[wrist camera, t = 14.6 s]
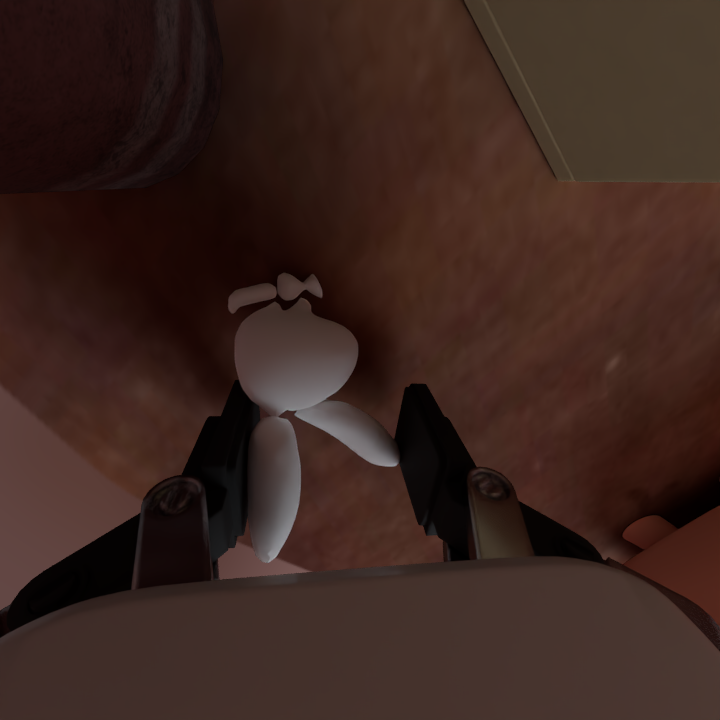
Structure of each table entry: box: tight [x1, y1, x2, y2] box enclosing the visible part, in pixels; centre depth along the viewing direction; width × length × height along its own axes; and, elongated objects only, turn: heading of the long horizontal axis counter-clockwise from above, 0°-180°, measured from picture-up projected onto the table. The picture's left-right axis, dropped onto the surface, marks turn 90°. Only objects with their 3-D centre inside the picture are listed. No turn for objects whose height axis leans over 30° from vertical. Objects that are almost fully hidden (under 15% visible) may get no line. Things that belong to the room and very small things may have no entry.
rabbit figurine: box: [228, 273, 400, 563], centre depth 11 cm, size 6×4×8 cm
